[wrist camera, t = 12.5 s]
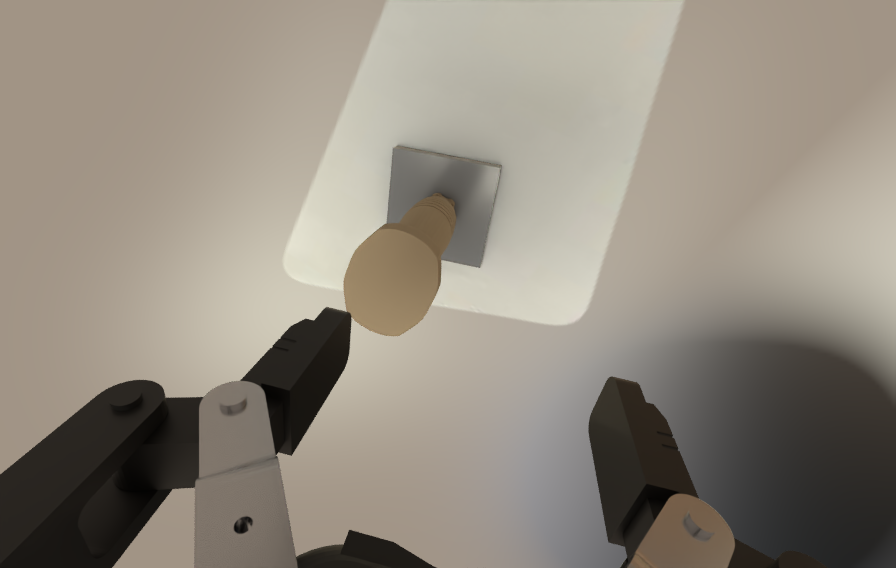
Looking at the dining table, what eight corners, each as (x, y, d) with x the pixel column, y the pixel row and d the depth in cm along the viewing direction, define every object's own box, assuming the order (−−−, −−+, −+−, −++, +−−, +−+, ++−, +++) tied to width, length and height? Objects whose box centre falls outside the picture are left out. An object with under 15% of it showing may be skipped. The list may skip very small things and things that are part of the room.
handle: (400, 229, 36) (331, 311, 23) (429, 163, 33) (368, 213, 20) (448, 253, 36) (407, 348, 23) (481, 190, 33) (455, 256, 20)
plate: (397, 145, 34) (393, 147, 33) (501, 165, 33) (500, 168, 32) (388, 243, 38) (384, 247, 37) (481, 262, 38) (480, 267, 37)
